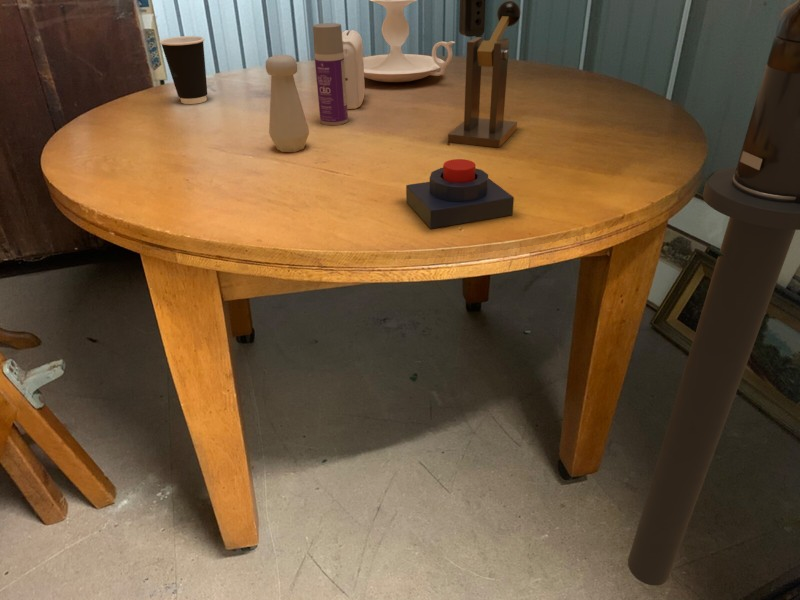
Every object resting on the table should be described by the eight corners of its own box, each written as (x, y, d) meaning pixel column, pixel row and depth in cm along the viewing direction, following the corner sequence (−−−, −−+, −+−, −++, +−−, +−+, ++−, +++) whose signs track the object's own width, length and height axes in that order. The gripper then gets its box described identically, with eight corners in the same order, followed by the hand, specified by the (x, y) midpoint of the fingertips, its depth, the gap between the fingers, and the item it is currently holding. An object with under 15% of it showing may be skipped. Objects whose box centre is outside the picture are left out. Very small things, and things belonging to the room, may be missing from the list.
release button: (466, 171, 70) (467, 157, 69) (480, 182, 67) (481, 167, 66) (438, 175, 69) (438, 161, 68) (450, 186, 66) (451, 171, 65)
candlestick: (422, 98, 114) (422, -76, 99) (328, 82, 127) (315, -74, 112) (479, 78, 128) (487, -78, 113) (389, 65, 141) (385, -76, 126)
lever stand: (468, 124, 99) (472, 33, 91) (516, 129, 96) (524, 36, 89) (448, 142, 91) (450, 44, 84) (499, 147, 88) (506, 47, 81)
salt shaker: (268, 144, 92) (256, 54, 85) (305, 140, 93) (295, 50, 86) (276, 156, 87) (263, 61, 80) (314, 151, 89) (305, 57, 82)
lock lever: (501, 18, 96) (500, -5, 93) (523, 19, 94) (523, -4, 92) (473, 69, 88) (471, 46, 86) (497, 71, 87) (496, 48, 84)
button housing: (482, 190, 75) (483, 159, 72) (512, 215, 68) (515, 181, 66) (406, 202, 72) (405, 170, 70) (430, 229, 65) (430, 194, 63)
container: (319, 125, 100) (310, 27, 92) (321, 118, 104) (313, 23, 96) (347, 124, 100) (341, 26, 92) (348, 117, 104) (342, 22, 96)
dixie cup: (223, 97, 117) (213, 37, 112) (196, 107, 111) (184, 44, 106) (191, 94, 120) (179, 35, 114) (163, 104, 114) (149, 41, 108)
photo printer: (361, 109, 108) (357, 35, 101) (337, 109, 108) (332, 35, 102) (366, 95, 117) (363, 26, 110) (344, 95, 117) (340, 26, 110)
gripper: (556, -189, 48) (536, 41, 58) (483, -168, 59) (476, 24, 68) (471, -191, 46) (465, 48, 56) (412, -169, 57) (414, 29, 66)
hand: (471, 34), depth 62 cm, fingers closed
